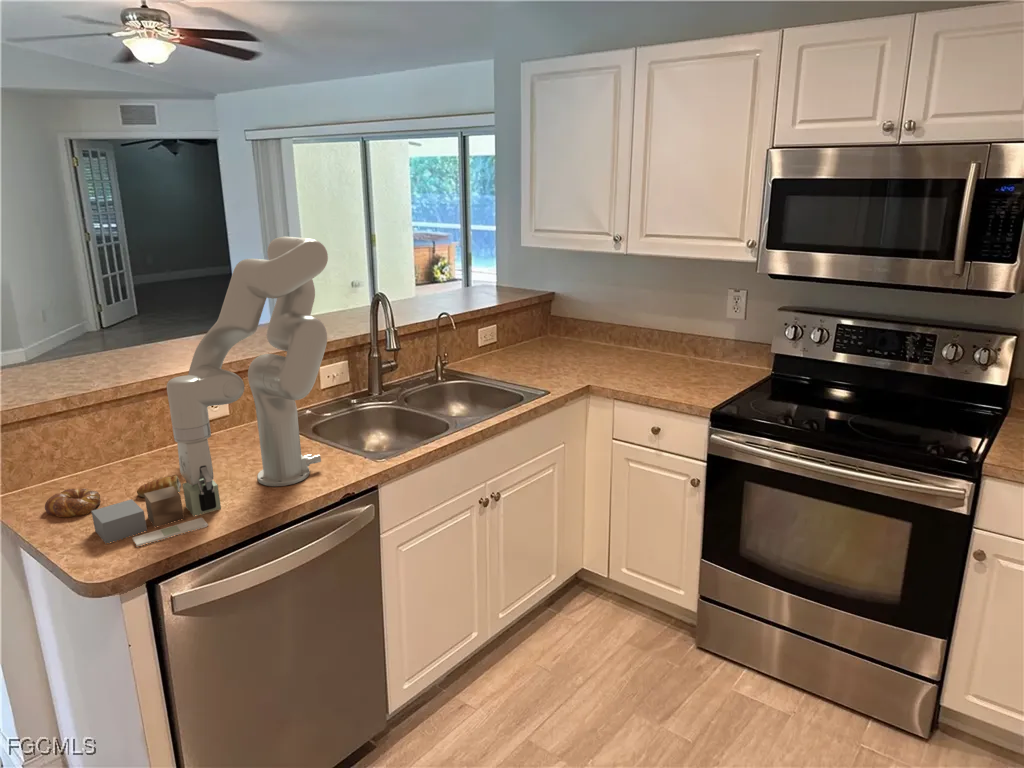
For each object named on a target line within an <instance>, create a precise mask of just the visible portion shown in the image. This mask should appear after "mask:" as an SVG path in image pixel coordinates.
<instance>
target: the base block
mask: <svg viewBox="0 0 1024 768" xmlns="http://www.w3.org/2000/svg"><path fill="white" fill-rule="evenodd" d="M91 517H92V520H93V521H92V522H93V526H94V531H95V533H96V534H97V535H98V536H99V538H100V539H101V540H102V542H104V543H105V544H106V543H109V544H111V543H110V542H112V543H114V542H113V541H115V542H118V541H121V540H124V539H123V538H125V539H127V538H126V537H128V538H130V537H129V536H131V537H134V536H137V535H139V534H138V533H140V534H142V533H141V532H143V533H145V532H144V531H146V532H148V528H147V522H146V516H145V511H144V509H142V508H141V506H140V505H139V504H138V503H136V502H135V501H134V500H133V499H132V498H131V499H127V500H124V501H121V502H118V503H114V504H110V505H108V506H103V507H99V508H97V509H96V508H95V510H93V511H91ZM136 534H137V535H136ZM133 535H134V536H133ZM120 539H121V540H120ZM117 540H118V541H117Z"/></svg>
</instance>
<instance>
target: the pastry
mask: <svg viewBox="0 0 1024 768" xmlns="http://www.w3.org/2000/svg"><path fill="white" fill-rule="evenodd" d="M181 485H182V484H181V481H180V479H179V477H178V475H173V476H164V477H163V476H161V477H159V478H158V479H154V480H152V481H148V482H147V483H144V484H142V485H140V486H139V487H138V488H137V490H136V493H137V495H138V496H139V497H140V498H144V497H145V496H144V493H148V492H152V491H156V490H160V489H164V488H168V487H171V486H173V487H174V488H175V489H176V490H177V491H178V492H179V493H180V491H181Z"/></svg>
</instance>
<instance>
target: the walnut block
mask: <svg viewBox="0 0 1024 768" xmlns="http://www.w3.org/2000/svg"><path fill="white" fill-rule="evenodd" d="M144 496H145V498H144V501H145V506H146V513H147V518H148V519H149V521H150V522H152V523H151V524H152V525H153V527H154V528H155V527H156V528H158V527H157V526H159V527H163V526H166V525H169V524H172V523H171V522H173V523H175V522H174V521H176V522H179V521H178V520H180V521H182V520H181V519H183V520H185V516H184V515H185V514H184V509H183V504H182V496H181V494H180V492H179V493H178V491H177V490H176V489H175V488H174V487H173V486H171V487H168V488H164V489H160V490H156V491H152V492H148V493H144ZM168 523H169V524H168ZM165 524H166V525H165ZM162 525H163V526H162Z"/></svg>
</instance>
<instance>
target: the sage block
mask: <svg viewBox="0 0 1024 768" xmlns="http://www.w3.org/2000/svg"><path fill="white" fill-rule="evenodd" d="M201 480H204V479H200V480H199V481H201ZM181 485H182V491H183V495H184V496H183V498H184V502H185V508H186V509H187V510H188V512H189V511H190V512H189V513H190V514H191V516H192V517H196V516H195V515H197V516H200V514H201V515H204V514H208V513H210V512H214V511H218V510H221V509H222V506H221V500H220V499H221V498H220V497H221V496H220V493H219V485H218V484H217V483H216V482H215V480H214V479H213V480H212V485H213V488H214V493H215V500H216V508H213V509H209V510H206V511H202V510H201V507H200V500H199V494H200V491H199V488H198V485H197V484H195V485H194V486H192V485H190V484H189V483H188V482H187V483H186V482H184V483H182V484H181ZM204 485H205V484H202V488H203V486H204Z"/></svg>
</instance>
